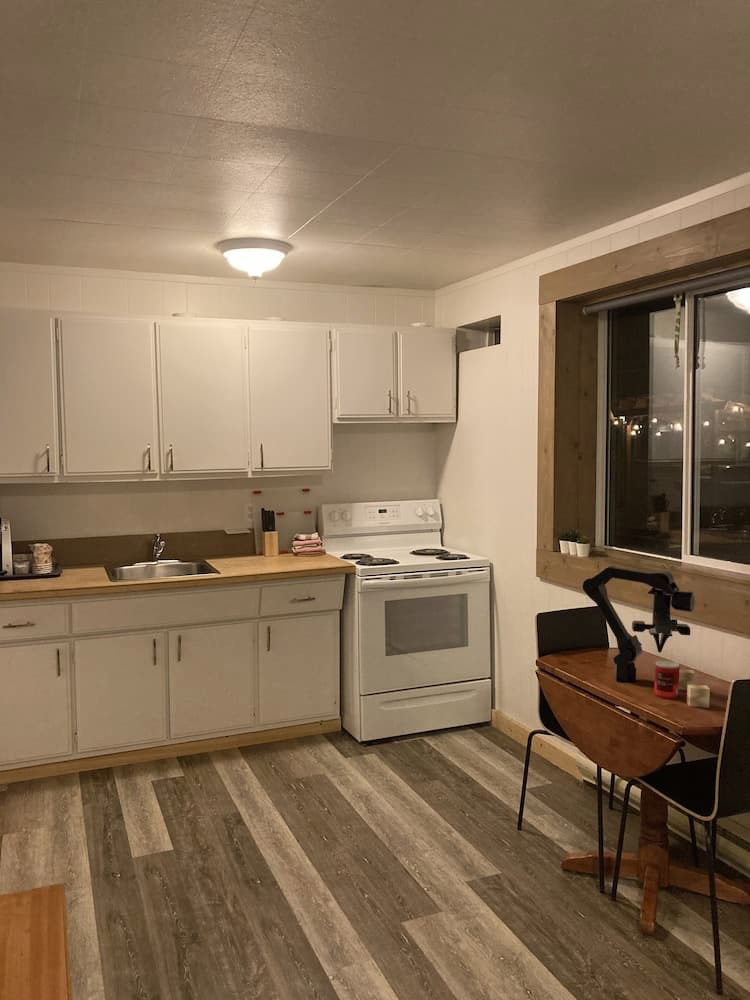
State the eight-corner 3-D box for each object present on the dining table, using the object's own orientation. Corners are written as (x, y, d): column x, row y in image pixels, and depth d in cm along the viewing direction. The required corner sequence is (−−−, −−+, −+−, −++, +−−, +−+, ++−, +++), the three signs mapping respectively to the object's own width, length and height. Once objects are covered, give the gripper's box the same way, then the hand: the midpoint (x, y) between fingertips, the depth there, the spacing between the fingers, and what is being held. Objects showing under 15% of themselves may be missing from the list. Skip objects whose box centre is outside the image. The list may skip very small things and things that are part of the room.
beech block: (689, 706, 270) (690, 688, 270) (686, 702, 274) (687, 684, 274) (708, 707, 269) (709, 689, 269) (705, 703, 273) (706, 685, 273)
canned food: (671, 691, 286) (673, 660, 285) (682, 699, 278) (684, 666, 277) (650, 692, 285) (651, 660, 284) (660, 699, 277) (661, 666, 276)
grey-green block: (676, 689, 288) (677, 672, 288) (674, 686, 292) (674, 669, 292) (694, 690, 287) (695, 673, 287) (692, 687, 291) (692, 670, 291)
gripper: (636, 610, 284) (633, 656, 285) (694, 614, 280) (691, 660, 281) (632, 604, 295) (630, 648, 296) (688, 607, 291) (686, 652, 292)
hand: (659, 652), depth 291 cm, fingers closed
